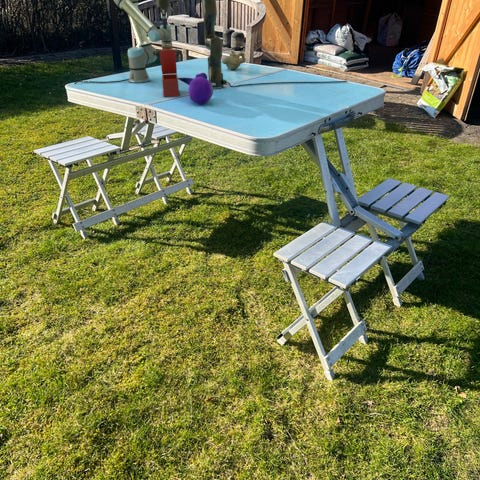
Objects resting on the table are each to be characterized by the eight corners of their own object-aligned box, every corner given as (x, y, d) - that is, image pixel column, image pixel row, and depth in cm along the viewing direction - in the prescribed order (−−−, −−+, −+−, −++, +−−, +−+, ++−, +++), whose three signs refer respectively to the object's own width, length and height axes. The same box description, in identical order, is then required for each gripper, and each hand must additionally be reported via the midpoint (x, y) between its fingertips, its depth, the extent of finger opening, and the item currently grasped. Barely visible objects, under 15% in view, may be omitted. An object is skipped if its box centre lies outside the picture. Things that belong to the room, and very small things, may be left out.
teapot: (225, 71, 366) (225, 52, 358) (219, 69, 374) (218, 50, 367) (248, 69, 375) (247, 49, 367) (241, 67, 383) (240, 48, 376)
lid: (175, 49, 287) (174, 41, 291) (159, 50, 285) (158, 42, 290) (176, 73, 302) (176, 65, 306) (162, 74, 301) (161, 66, 305)
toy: (201, 95, 293) (213, 109, 272) (175, 90, 286) (185, 105, 265) (206, 70, 285) (219, 83, 264) (179, 65, 278) (190, 78, 257)
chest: (179, 96, 293) (177, 78, 288) (164, 97, 292) (162, 79, 287) (178, 90, 308) (176, 73, 303) (163, 91, 307) (162, 74, 301)
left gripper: (185, 55, 328) (186, 59, 310) (150, 56, 325) (149, 61, 307) (184, 43, 324) (185, 47, 306) (149, 45, 321) (148, 49, 303)
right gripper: (168, -2, 265) (171, 29, 274) (168, -2, 277) (171, 26, 286) (156, -1, 264) (159, 29, 273) (156, -2, 277) (159, 27, 285)
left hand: (167, 54), depth 306 cm, fingers open, 13 cm apart
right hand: (165, 28), depth 279 cm, fingers open, 8 cm apart
